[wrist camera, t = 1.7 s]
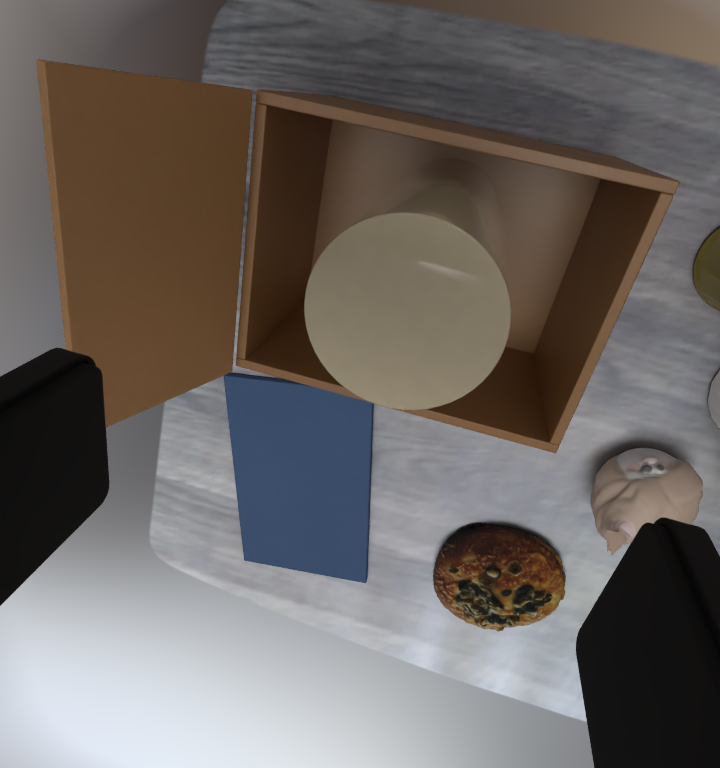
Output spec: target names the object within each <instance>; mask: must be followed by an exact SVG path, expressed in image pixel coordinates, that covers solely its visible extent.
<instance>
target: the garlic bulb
mask: <svg viewBox="0 0 720 768" xmlns="http://www.w3.org/2000/svg"><path fill="white" fill-rule="evenodd" d="M702 485H703V482H702V480H701V478H700V477H699V475H698V474H697V473H696V471H695V470H694V469H693V468H692V467H691V466H690V465H689V464H688V463H687V462H686V461H684V460H680V459H675V458H674V457H672V456H671V455H669V454H667V453H665V452H662V451H659V450H656V449H650V448H636V449H631V450H628V451H626V452H624V453H622V454H620V455H617V456H615V457H613V458H611V459H610V460H608V461H607V462H606V463H605V464H604V465H603V466H602V468H601V469H600V470H599V472H598V473H597V475H596V477H595V483H594V486H593V489H592V493H591V507H592V510H593V514H594V517H595V524H596V528H597V530H598V532H599V533H600V534H601V536H602V537H603V538H605V539H606V540H607V551H610V550H611V554H614V553H615V552H616V551H617V550H618V549H619V548H620V547H621V546H622V545H623V544H628V543H632V541H633V539H634V538H635V536H636V534H637V533H638V531H639V529H640V528H641V527H642V525H643V524H645V523H653V524H654V522H655V521H656V520H658V519H659V518H662V517H665V518H669V519H673V520H676V521H680V522H683V523H687V524H690V525H691V524H692V523H693V521H694V520H695V518H696V516H697V514H698V511H699V502H700V500H701V498H702V496H703V492H702Z"/></svg>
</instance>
